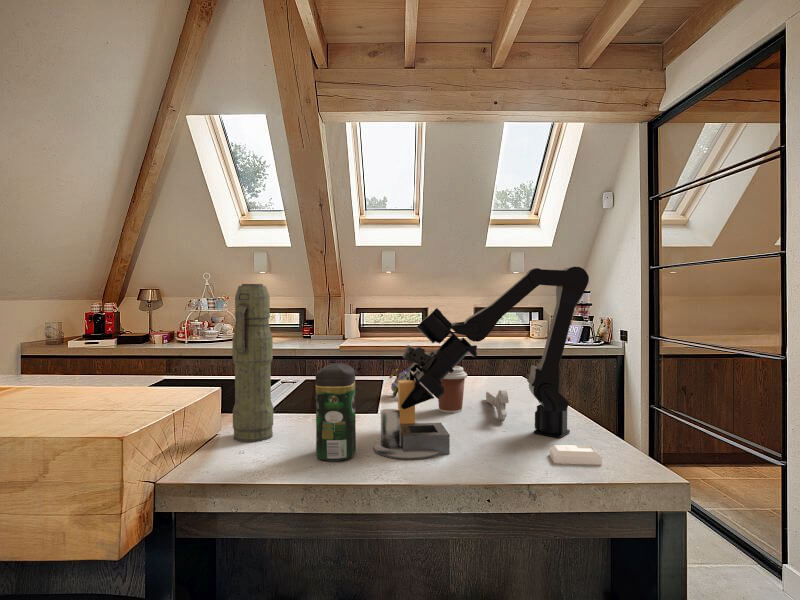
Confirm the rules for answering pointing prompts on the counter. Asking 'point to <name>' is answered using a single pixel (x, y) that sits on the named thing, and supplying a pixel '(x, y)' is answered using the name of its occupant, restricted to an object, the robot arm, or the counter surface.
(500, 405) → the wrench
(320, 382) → the coffee jar
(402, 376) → the passion flower
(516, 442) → the counter surface
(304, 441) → the counter surface
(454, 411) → the coffee cup
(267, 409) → the thermos
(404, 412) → the wooden block
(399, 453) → the desk organizer stand
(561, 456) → the soap bar
